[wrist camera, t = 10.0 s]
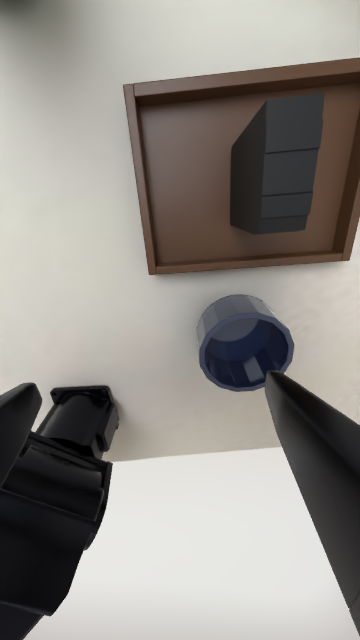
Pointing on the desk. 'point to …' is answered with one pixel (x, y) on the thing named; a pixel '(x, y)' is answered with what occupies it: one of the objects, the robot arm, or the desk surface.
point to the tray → (215, 162)
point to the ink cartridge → (276, 166)
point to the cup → (242, 343)
